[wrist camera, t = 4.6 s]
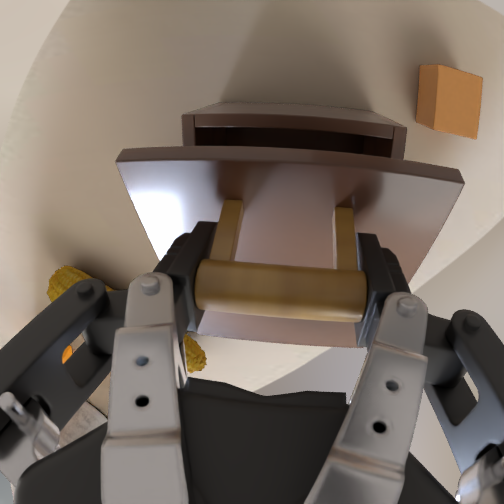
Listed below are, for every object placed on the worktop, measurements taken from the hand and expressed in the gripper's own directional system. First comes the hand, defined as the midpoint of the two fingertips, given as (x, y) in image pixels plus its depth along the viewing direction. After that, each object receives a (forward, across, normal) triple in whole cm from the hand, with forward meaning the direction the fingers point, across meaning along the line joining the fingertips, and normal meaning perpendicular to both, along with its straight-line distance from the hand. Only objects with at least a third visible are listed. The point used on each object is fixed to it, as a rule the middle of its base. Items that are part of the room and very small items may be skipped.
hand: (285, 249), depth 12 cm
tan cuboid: (+16, -12, -6) cm, 21 cm away
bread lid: (+4, 0, +4) cm, 5 cm away
